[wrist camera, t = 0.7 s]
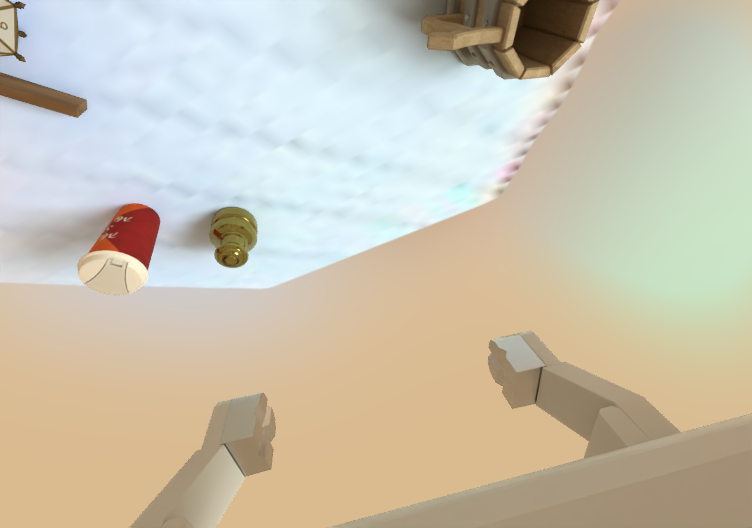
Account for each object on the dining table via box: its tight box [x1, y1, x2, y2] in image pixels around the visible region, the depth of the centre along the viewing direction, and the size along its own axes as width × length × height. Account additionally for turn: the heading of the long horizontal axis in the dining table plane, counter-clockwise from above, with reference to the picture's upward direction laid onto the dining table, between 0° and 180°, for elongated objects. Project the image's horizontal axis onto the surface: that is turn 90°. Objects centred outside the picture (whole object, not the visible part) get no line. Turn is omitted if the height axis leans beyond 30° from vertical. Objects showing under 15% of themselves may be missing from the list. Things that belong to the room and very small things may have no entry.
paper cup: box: [78, 204, 160, 295], centre depth 48 cm, size 8×8×14 cm
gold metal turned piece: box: [210, 207, 257, 268], centre depth 54 cm, size 7×8×10 cm
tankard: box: [421, 0, 599, 80], centre depth 38 cm, size 20×13×15 cm, turn 92°
